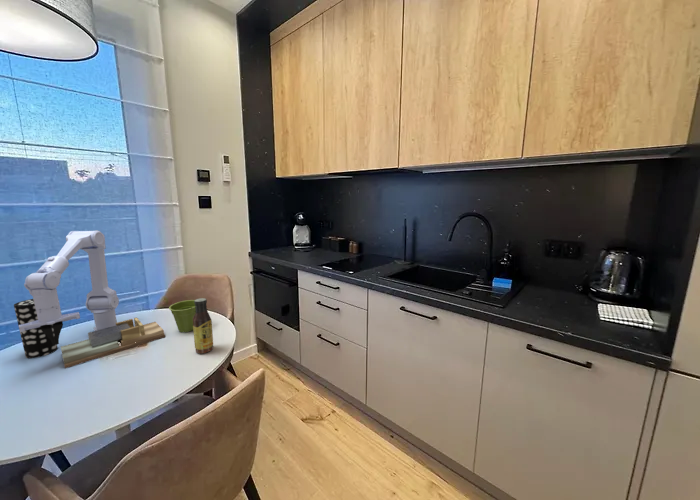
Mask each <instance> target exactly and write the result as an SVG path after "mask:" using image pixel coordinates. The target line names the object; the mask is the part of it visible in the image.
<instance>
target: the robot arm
mask: <svg viewBox="0 0 700 500" xmlns="http://www.w3.org/2000/svg"><path fill="white" fill-rule="evenodd" d="M105 238H106V237H105V234H103V232H101V231H100V230H80V231H79V230H71V231H69V232H68V234H67V235H66V236H65V241H66V242H65V244H64V245H63V246H62V247H61V249H60V250H59V252H58V253H57V254H56V255H53V256H49V257H47V259H46V261H44V263H43V264H42V265H41V266H40V268H39V269H37V270H36V272H32V273H31V274H29V275H27V276H26V277H25V281H24V284H23V286H24V287H25V289H26V290H27V291H28V292H29V294H30V296H32V299H34V304H35V308H36V313H37V317H38V320H36V321H33V322H29V323H26V324H22V325H19V326H18V329H19V333H20V332H24V331H25V330H29V329H34V328H38V327H41V331H42V332H44V333H45V334H46V335H47V336H48V337H49V338H50V340H51V341H52V343H53V345H56V344H57V345H58V344H60V343H59V342H60V340H59V339H60V334H61V331H62V329H63V326H64V323H63V322H67V321H72V320H79V319H81V315H80V312H79V311H78V312H71V313H65V314H64V313H63V314H62V309H61V305H60V299H59V296H58V290H57V287H58V286H60V283H61V279H62V275H63V273H64V272H65V271H66V270H67V268H68V267H69V266H70V263H69V260H71V258H72V257H73V256H75V254H76V253H77V252H79V250H82V251H84V252H85V253H87V255H88V263H89V265H88V266H89V273H90V281H91V291H89V292H88V293H86V301H85V308H86V309H87V310H88V311H89V312H90V313H92V315H93V320H94V324H95V326H94V327H93V331H97V330H100V329H104V328H108V327H112V326H116V323H118V321H117V316H116V315H117V313H116V309H117V307H118V306H119V302H120V299H119V296H118V295H117V291H116V290H115V289H113V288H111V287H109V282H108V281H109V280H108V274H107V273H108V272H107V264H106V253H105V250H106V239H105ZM51 324H53V329H54V334H55V338H54V335H53V332H52V327H51Z"/></svg>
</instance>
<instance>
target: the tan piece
mask: <svg viewBox="0 0 700 500" xmlns="http://www.w3.org/2000/svg"><path fill="white" fill-rule="evenodd" d="M124 323H127V324H128V325H129V326H130V328H128V329H124V330H121V335H122V339H119V340H116V341H112V342H109V343H105V344H102V345H98V346H95V347H92V346H91V343H90V341H89V338H87V339H85V340H81V341H76V342H73V343H70V344H66V345H63V346H62V345H61V346H60V351H61V356H62V360H63V365H64V369H68V368H71V367H74V366H77V365H81V364H83V363H88V362H91V361H92V360H93V361H94V360H97V359H100V358H103V357H106V356H109V355H112V354H116V353H119V352H122V351H125V350H127V349H128V350H129V349H132V348H135V347H138V346H141V344H142V343H145V344H147V343H151V342H154V341H157V340H161V339H163V338H166V334H165V331H164V328H162V327H161V326H160V324H158V323H157V322H156V321H153V322H149V323H146V324H143V323H142V322H141V321H140V319H139V318H137V317H134V318H130V319H127V320H122V321H117V323H116V325H120V324H124ZM118 342H120V343H121V346H119V344H118ZM135 342H136V343H135ZM142 345H143V344H142Z"/></svg>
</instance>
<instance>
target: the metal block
mask: <svg viewBox="0 0 700 500" xmlns="http://www.w3.org/2000/svg"><path fill="white" fill-rule="evenodd" d="M128 328H130V326H129V325H128V324H127V323H124V324H120V325H116V326H112V327H108V328H104V329H100V330H97V331H95V330H93V331H90V332H87V336H88V337H87V338H88V339H89V341H90V343H91V346H92V347H95V346H98V345H102V344H105V343H109V342H112V341H116V340H119V339H122V335H121V330H124V329H128Z"/></svg>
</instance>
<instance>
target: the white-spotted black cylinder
mask: <svg viewBox="0 0 700 500" xmlns="http://www.w3.org/2000/svg"><path fill="white" fill-rule="evenodd" d="M13 308H14V312H15V317H16V321H17V325H18V327H19V325H22V324H26V323H29V322H33V321H36V320H38V317H37V313H36V308H35V304H34V299H33V298H30V299H26V300H22V301H19V302H16V303H14V304H13ZM51 327H52V332H53V335H54V338H55V334H54V329H53V324H51ZM19 334H20V338H21V342H22V347H23V351H24V355H25V358H26V359H37V358H40V357H45V356H47V355H50V354H53V353H54V352H56V351H57V350H58V344H56V345H53V343H52V341H51V340H50V338H49V337H48V336H47V335H46V334H45V333H44V332H42V331H41V327H38V328H34V329H29V330H25V331H24V332H20V331H19Z"/></svg>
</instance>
